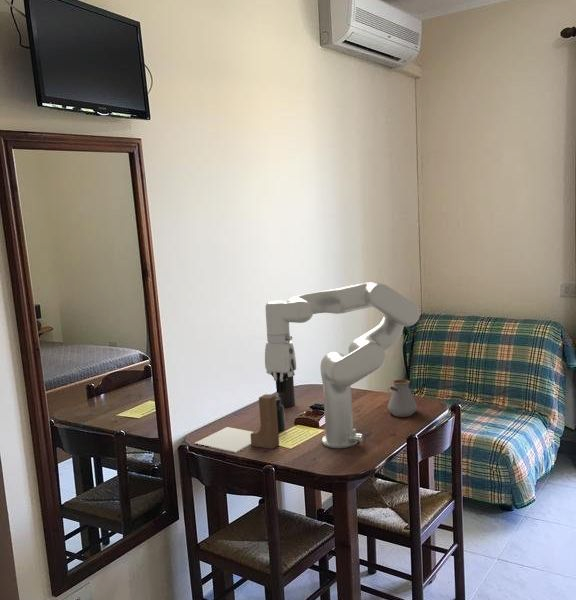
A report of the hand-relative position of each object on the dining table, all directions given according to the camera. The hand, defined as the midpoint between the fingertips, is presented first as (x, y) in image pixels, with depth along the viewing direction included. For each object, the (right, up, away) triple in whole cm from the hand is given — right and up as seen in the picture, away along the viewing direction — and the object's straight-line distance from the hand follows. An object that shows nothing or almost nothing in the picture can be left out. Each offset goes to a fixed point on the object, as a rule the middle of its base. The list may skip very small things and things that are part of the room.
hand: (281, 391), depth 205 cm
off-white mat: (-18, -20, +15) cm, 31 cm away
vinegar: (+2, -14, +52) cm, 54 cm away
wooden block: (-6, -20, +8) cm, 22 cm away
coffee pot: (+45, -14, +28) cm, 54 cm away
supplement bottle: (-2, -18, +24) cm, 30 cm away
